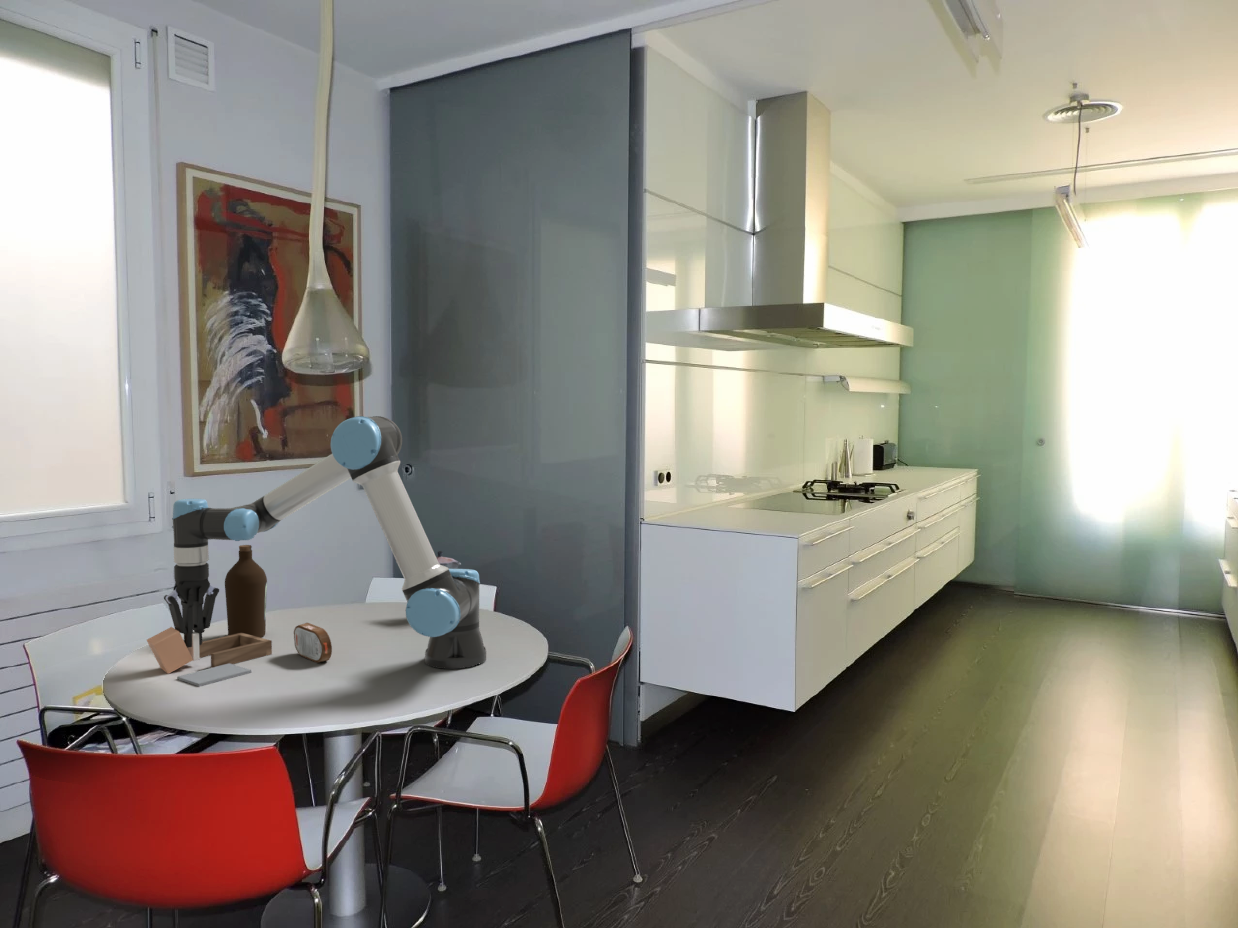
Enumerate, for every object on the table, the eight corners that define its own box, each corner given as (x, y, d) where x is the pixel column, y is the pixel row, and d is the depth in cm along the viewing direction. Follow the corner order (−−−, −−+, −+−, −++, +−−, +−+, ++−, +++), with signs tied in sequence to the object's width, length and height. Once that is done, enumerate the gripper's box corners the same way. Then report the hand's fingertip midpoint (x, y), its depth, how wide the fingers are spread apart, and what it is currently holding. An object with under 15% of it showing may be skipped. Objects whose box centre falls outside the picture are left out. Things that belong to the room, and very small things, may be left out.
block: (193, 660, 212) (179, 631, 209) (168, 673, 208) (153, 644, 205) (185, 654, 216) (171, 626, 213) (160, 668, 212) (146, 639, 210)
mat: (251, 672, 210) (251, 669, 210) (199, 686, 199) (199, 683, 199) (229, 665, 215) (229, 663, 215) (177, 679, 204) (177, 676, 204)
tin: (333, 663, 217) (332, 630, 217) (321, 666, 215) (320, 632, 215) (303, 651, 228) (302, 619, 227) (291, 654, 225) (291, 621, 225)
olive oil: (234, 643, 234) (232, 550, 233) (219, 635, 242) (218, 545, 240) (274, 636, 242) (272, 546, 240) (259, 629, 249) (257, 541, 248)
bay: (271, 654, 225) (271, 640, 225) (214, 668, 212) (214, 654, 212) (241, 645, 232) (241, 632, 232) (184, 659, 219) (184, 645, 219)
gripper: (208, 557, 220) (210, 650, 222) (156, 565, 210) (158, 662, 211) (225, 561, 216) (227, 655, 218) (173, 568, 205) (175, 668, 207)
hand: (193, 659), depth 215 cm, fingers closed
